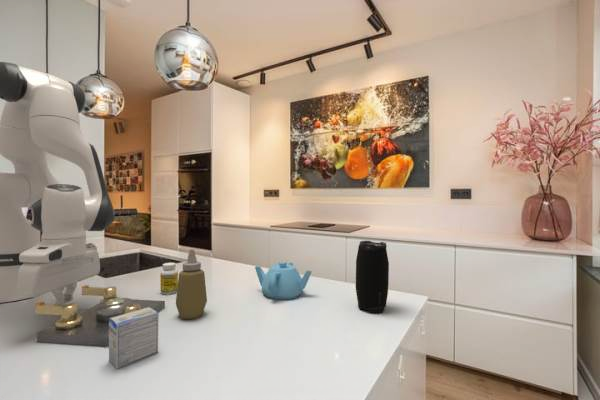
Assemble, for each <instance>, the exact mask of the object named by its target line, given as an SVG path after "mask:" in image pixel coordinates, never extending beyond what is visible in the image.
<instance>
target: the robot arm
mask: <svg viewBox="0 0 600 400" xmlns="http://www.w3.org/2000/svg"><path fill="white" fill-rule="evenodd" d="M0 99H1V100H3V101H6V102H5V103H4V106H3V109H2V112H1V116H0V156H2V157H3V158H4V159H6V160H8V161H9V162H11V163H12V166H13V168H14V172H13V173H12V172H0V303H7V302H14V301H21V300H26V299H29V298H30V299H31V298H36V297H37V298H38V297H39V296H42V295H45V294H48V293H51V294H52V295H53V296H54V298H55V299H56V300H55V301H56V303H55V304H61V305H66V304H68V303H69V302H72V301H73V299H74V293H75V291H76V288H77V285H78V282H82V281H84V280H86V279H87V280H88V279H89V278H93V277H96V276H97V275H98V276H99V274H100V271H101V262H100V255H99V252H98V247H97V246H96V245H95V244H93V242H90V243H89V242H88V243H87V234H86V232H103V231H104V230H106V229H108V228H109V227H110V226H111V225H112V224H113V223H114V220H115V209H114V206H113V204H112V201H111V198H110V195H109V193H108V192H109V191H108V189H107V184H106V181H105V177H104V173H103V170H102V169H103V168H102V166H101V162H100V159H99V156H98V152H97V150H96V148H95V146H94V145H93V144H91V143H90V142H88V141H87V140H86V139H85V137H84V136H83V133H82V130H81V124H80V121H81V120H80V115H79V114H80V113H81V112H82V111H83V110H84V108H85V106H86V95H85V92H84V90H83V88H81V86H79V85H77V84H76V83H74V82H72V81H66V80H65V79H62V78H60V77H59V76H58V77H57V76H56V75H53V74H50V73H46V72H42V71H39V70H35V69H32V68H28V67H25V66H20V65H18V64H16V63H14V62H13V63H11V62H7V61H0ZM47 153H48V154H49V155H51V156H54V157H57V158H60V159H63V160H65V161H67V162H71V163H72V164H75V165H76V166H78V167H79V168H80V169H81V170H82V171H83V173H84V178H85V181H86V185H87V189H88V192H89V196H88V197H87V196H86V197H85V194H84V190H83V188H82V187H81V186H78V185H74V184H68V183H67V184H65V183H61V182H60V181H59V180H58V179H57V178H56V177H55V176H54V175H53V173H51V171H50V168H49V165H48V163H47V158H46V154H47ZM22 208H31V212H32V213H31V215H32V216H31V218H32V219H31V220H30V219H27V217H26V216H25V215H24V212H23V209H22ZM41 233H42V234H41Z"/></svg>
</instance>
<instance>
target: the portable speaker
mask: <svg viewBox="0 0 600 400" xmlns="http://www.w3.org/2000/svg"><path fill="white" fill-rule="evenodd" d="M387 251H388V250H387V242H383V241H380V242H376V241H375V242H374V241H371V240H361V241H359V244H358V248H357V255H356V260H355V293H356V300H357V307H358V309H359V310H362V309H364V310H368V311H369V313H370V314H373V315H374V314H382V313H384V311H385V309H386V306H387V300H388V295H389V283H390V281H389V279H390V277H389V275H390V274H389V273H390V272H389V270H390V267H389V266H390V265H389V264H390V262H389V257H388V256H389V255H388V252H387Z"/></svg>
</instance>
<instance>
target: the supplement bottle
mask: <svg viewBox="0 0 600 400" xmlns="http://www.w3.org/2000/svg"><path fill="white" fill-rule="evenodd" d="M178 271H179V270H178V269H177V267H176V262H164V263H163V264H162V270H161V271H160V294H161V295H165V296H166V295H174V294H177V287H178V278H179V272H178Z"/></svg>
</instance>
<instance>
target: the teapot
mask: <svg viewBox="0 0 600 400" xmlns="http://www.w3.org/2000/svg"><path fill="white" fill-rule="evenodd" d="M261 267H262V266H260V265H258V266H257V265H256V266H254V269H255V273H256V275H257V278H258V281H259V284H260V287H261V291H262V293H263V294H264V295H265V296H266V297H267V298H269V299H273V300H279V301H280V300H282V301H283V300H292V299H296V298H298V297H299V296H300V295H301V293H302V292H303V290H304V289H305V288H306V286H307V284H308V282H309V279H310V277H311V274H312V273H313V271H312V270H307V269H306V271H305V273H304V274H303V276H301V275H300V273H299V271H298V270H297V268H296V266H294V262H287V261H279V262H278V264H275V265H274V264H273V265H271V266H270V267H269V268H268V270H267V272H266V273H265V271H263V269H262V268H261Z"/></svg>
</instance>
